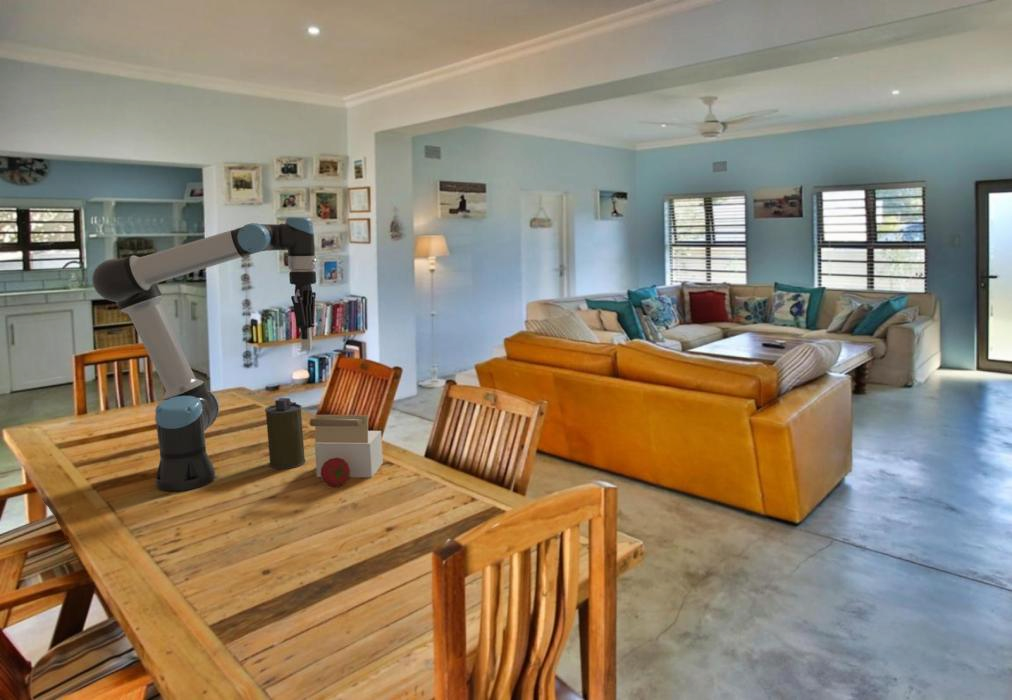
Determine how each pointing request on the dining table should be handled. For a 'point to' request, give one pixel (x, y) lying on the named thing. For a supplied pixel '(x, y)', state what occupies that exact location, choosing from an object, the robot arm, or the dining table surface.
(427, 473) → the dining table surface
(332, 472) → the tomato
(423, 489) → the dining table surface
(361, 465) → the carton
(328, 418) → the flap
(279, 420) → the canister
